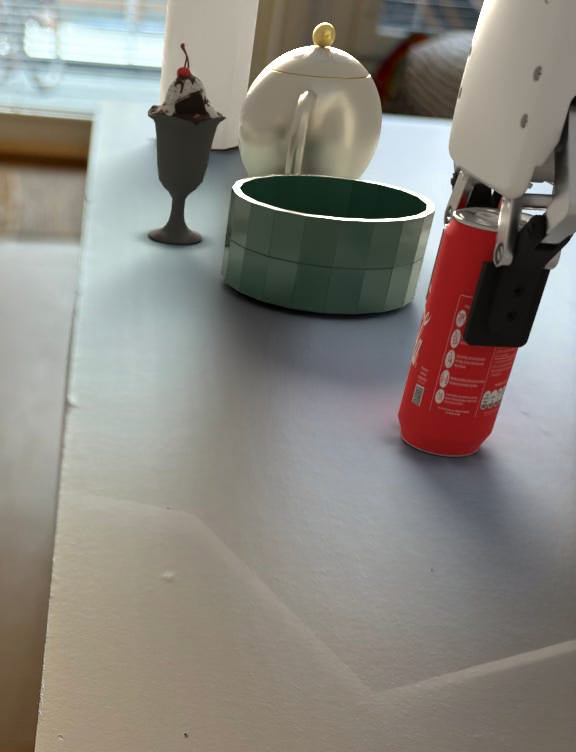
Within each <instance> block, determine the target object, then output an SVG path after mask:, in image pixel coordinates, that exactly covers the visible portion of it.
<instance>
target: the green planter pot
mask: <svg viewBox="0 0 576 752" xmlns="http://www.w3.org/2000/svg"><path fill="white" fill-rule="evenodd" d="M229 199H230V200H229V207H228V208H229V209H228V216H227V223H226V232H225V240H224V247H223V255H222V264H221V269H220V270H221V271H220V274H221V277H222V279H223V281H224V283H225V284H226V285H228V286H230V287H231V288H232V289H234V290H235V291H236V292H238V293H240V294H243V295H246V296H247V297H250V298H253V299H255V300H258V301H261V302H264V303H267V304H271V305H273V306H278V307H282V308H286V309H289V310H290V309H291V310H295V311H301V312H307V313H314V314H325V315H326V314H327V315H362V314H363V315H364V314H373V313H385V312H390V311H393V310H394V311H395V310H397V309H402V308H403V307H405V306H407V305H408V304H409V303H411V302H412V301H414V299H415V295H416V291H417V288H418V287H417V286H418V282H419V279H420V275H421V270H422V266H423V262H424V258H425V254H426V251H427V246H428V243H429V238H430V233H431V229H432V225H433V222H434V217H435V214H436V204H435V203H434V202H432V201H431V200H430V199H429V198H427V197H426V196H424V195H422V194H418V193H416V192H414V191H411V190H409V189H405V188H402V187H398V186H394V185H390V184H387V183H382V182H377V181H371V180H368V179H367V180H366V179H361V178H359V179H355V178H347V177H338V176H330V175H313V174H270V175H262V176H254V177H250V176H249V177H246V178H243V179H240V180H237V181H236V182H235V183H234V184H233V186H232V187H231V192H230V198H229Z"/></svg>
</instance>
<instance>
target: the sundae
mask: <svg viewBox="0 0 576 752" xmlns="http://www.w3.org/2000/svg"><path fill="white" fill-rule="evenodd" d="M180 47H181V49H182V50H183V52H184V53H185V55H186V60H185V64H184V67H181V68H179V69H178V70H177V78H176V79H175V80H174V81H173V82H172V83H171V85H170V86H169V88H168V91H167V94H166V97H165V101H164V102H163V103H162V104H161V105H159V104H158V105H157V104H153V105H151V107H150V108H149V109H148V111H147V116H148V117H149V118H150V119H151V120H152V121H153V123H154V129H155V137H156V138H155V139H156V165H157V166H156V167H157V176H158V181H159V182H160V184H161V185H162V187H163V188H164V189H165V191H167V193H168V194H169V196H170V197H171V209H170V214H169V217H168V220H167V222H166V223H165V224H164V225H163V226H162V227H157V228H154V229H151V230H150V231H149V232H148V234H147V235H148V236H149V238H151V239H152V240H154V241H156V242H161V243H163V244H164V243H165V244H173V245H192V244H196V243H199V242H201V241H202V240H203V236H202V234H201V233H199V232H197V231H195V230H191V229H190V228H189V227H188V225H187V223H186V219H185V218H186V217H185V208H186V207H185V206H186V199H187V198H188V196H189V195H190V194H192V193H193V192H195V191H196V190H197V189H198V188H199V187H200V186H201V184H203V182H204V178H205V175H206V172H207V168H208V166H209V165H208V164H209V160H210V156H211V151H212V150H211V147H212V143H213V139H214V136H215V132H216V129H217V126H218V124H219V123H220V122H221V121H223V120H225V119H226V117H224V116H222V114H221V113H218V112H217V111H216V109H215V108H214V106H213V105H212V104H211V102H210V101H209V100H208V97H207V95H206V90H205V87H204V85H203V83H202V82H201V81H200V80H199V79H198V78H197V77H195V76H194V75H192V74H191V72H190V70H189V59H188V55H187V52H186V50H185V44H184V43H182V44H181V46H180ZM186 64H187V67H186Z"/></svg>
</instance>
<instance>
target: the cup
mask: <svg viewBox="0 0 576 752" xmlns="http://www.w3.org/2000/svg"><path fill="white" fill-rule="evenodd" d="M259 4H260V0H166V12H165V21H164V22H165V23H164V38H163V48H162V62H161V74H160V86H159V99H158V106H159V105H161V104H162V103H163V102H164V101H165V97H166V94H167V91H168V88H169V86H170V85H171V83H172V82H173V81H174V80H175V79H176V78H177V70H178V69H179V68H181V67H184V64H185V60H186V55H185V53H184V52H183V50H182V49H181V47H180V46H181V44H182V43H184V44H185V50H186V52H187V55H188V59H189V70H190V72H191V74H192V75H194V76H195V77H197V78H198V79H199V80H200V81H201V82H202V83H203V85H204V87H205V90H206V95H207V97H208V100H209V101H210V102H211V104H212V105H213V106H214V108H215V109H216V111H217V112H218V113H221V114H222V116H224V117H226V119H225V120H223V121H221V122H220V123H219V124H218V126H217V129H216V132H215V136H214V139H213V143H212V147H211V151H226V150H230V149H235V148H239V144H238V123H239V117H240V112H241V108H242V105H243V102H244V99H245V97H246V95H247V93H248V91H249V82H250V75H251V66H252V57H253V50H254V42H255V35H256V27H257V19H258V12H259ZM186 67H187V64H186Z"/></svg>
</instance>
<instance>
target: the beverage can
mask: <svg viewBox="0 0 576 752" xmlns="http://www.w3.org/2000/svg"><path fill="white" fill-rule="evenodd" d="M500 210H501V209H499V208H487V207H471V208H462V209H459V210H457V211H455V212H454V214H453V218H454V219H453V220H452V221H451V222H450V224H449V225H448V226H447V227H445V228H444V229H445V230H444V233H443V237H442V241H441V245H440V249H439V253H438V257H437V261H436V265H435V269H434V273H433V277H432V281H431V285H430V289H429V293H428V297H427V301H426V300H425V304H424V308H423V313H422V317H421V320H420V324H419V329H418V333H417V336H416V340H415V345H414V349H413V353H412V355H411V356H412V357H411V361H410V365H409V369H408V373H407V377H406V381H405V384H404V387H403V392H402V397H401V400H400V404H399V408H398V412H397V417H398V423H399V427H400V437H401V438H402V440H403V441H404V442H405V443H406V444H407V445H409V446H410V447H412V448H414V449H416V450H418V451H421V452H424V453H426V454H431V455H435V456H439V457H448V458H449V457H450V458H456V457H459V458H460V457H468V456H470V455H473V454H475V453H477V452H478V451H479V449H480V446H481V445H482V444H483V443H484V442H485V441H486V440H487V439H488V438H489V436H490V435H491V434H492V432H493V429H494V426H495V423H496V420H497V417H498V414H499V411H500V408H501V405H502V401H503V398H504V394H505V392H506V389H507V385H508V382H509V379H510V375H511V372H512V370H513V366H514V363H515V360H516V356H517V353H518V350H519V348H513V347H487V346H470V345H468V344H467V343H466V342H465V341H464V340H463V332H464V329H465V325H466V321H467V318H468V314H469V311H470V307H471V304H472V300H473V296H474V293H475V289H476V286H477V282H478V279H479V275H480V272H481V268H482V264H483V261H493V254H494V247H495V241H496V235H497V229H498V222H499V216H500ZM534 215H535V214H531V213H527V212H523V211H522V214H521V220H520V226H519V231H520V230H521V229H522V228H523V227H524V226H525V224H526V223H527V222H528V221H529V220H530V219H531V218H532V217H533V216H534Z"/></svg>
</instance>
